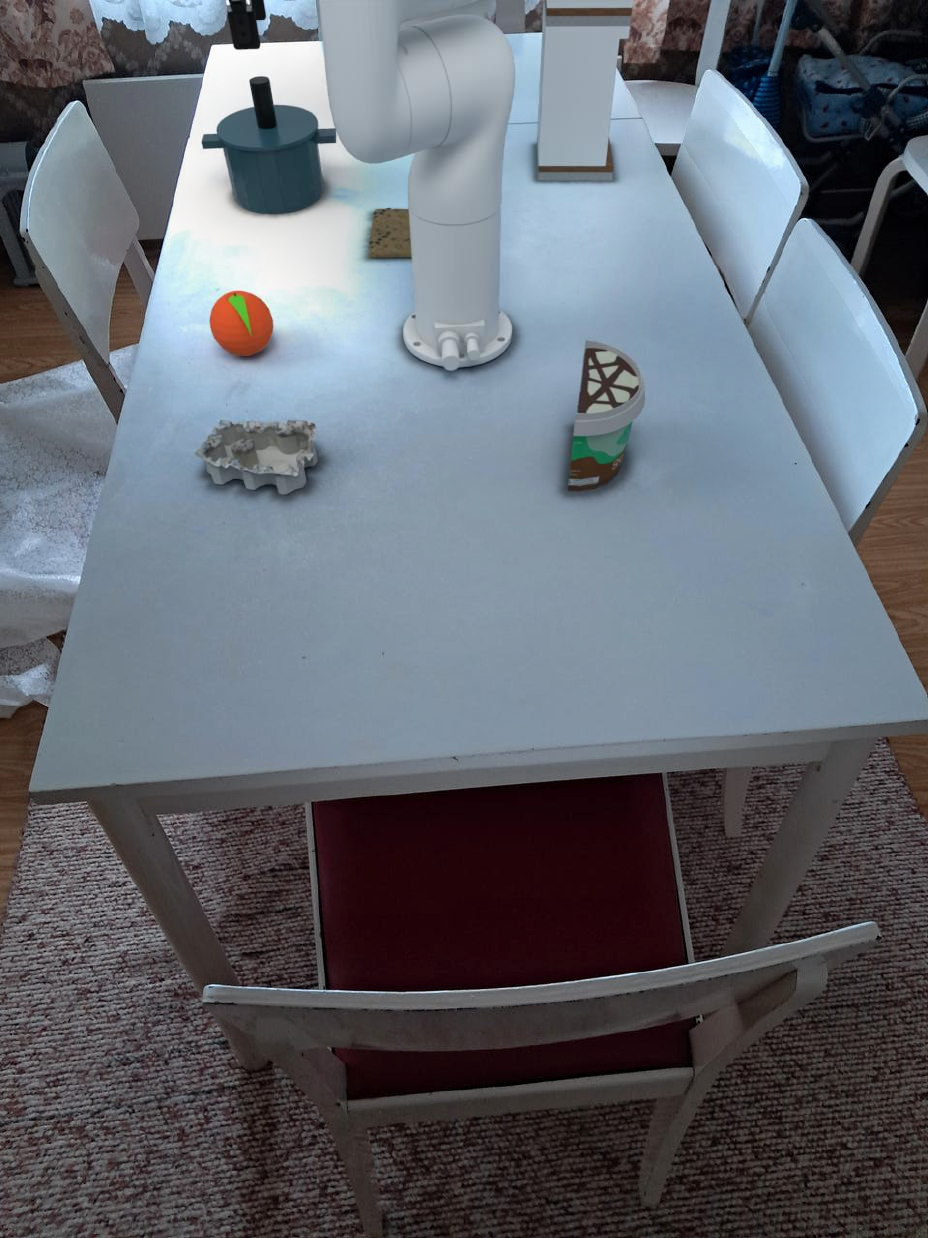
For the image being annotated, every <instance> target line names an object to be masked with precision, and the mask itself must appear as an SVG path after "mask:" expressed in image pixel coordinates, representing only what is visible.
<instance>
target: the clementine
mask: <svg viewBox="0 0 928 1238" xmlns="http://www.w3.org/2000/svg"><path fill="white" fill-rule="evenodd" d="M208 320H209V328H210V332H211V334H212V337H213V339H214V340H215V341H216V342H217V344H218V345H219V346H220V347H221V348H222V349H223V350H225V351H227V352H228V353H229V354H232V355H235V356H239V357H249V356H253V355H256V354H258V353H259V352H261V351H262V350H263V351H264V349H265V348H266V347H267V345H268V344H269V342H270V341H271V339H272V336H273V332H274V319H273V316H272V313H271V311H270V308H269V307H268V306H267V304H266V303H265V301H263V300H262V299H261V298H260V297H259V296H257V295H256V294H254V293H251V292H248V291H245V290H231V291H229V292H226V293H224V294H223V295H221V296H220V297H219V298H218V299H217V300H216V301H215V303H214V304H213V306H212V307H211V311H210V314H209V319H208Z"/></svg>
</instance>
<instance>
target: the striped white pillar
mask: <svg viewBox="0 0 928 1238" xmlns="http://www.w3.org/2000/svg"><path fill="white" fill-rule="evenodd" d="M633 5H634V0H543V6H542V7H543V8H542V26H541V27H542V28H541V45H540V46H541V47H540V65H539V67H540V68H539V86H538V90H539V91H538V108H537V127H536V129H537V130H536V166H537V167H536V169H537V181H538V182H547V181H548V182H550V181H551V182H552V181H553V182H556V181H558V182H560V181H562V182H564V181H565V182H574V181H575V182H613V178H614V177H613V176H614V169H615V168H614V167H615V165H614V158H613V153H612V146H611V142H610V129H611V121H612V111H613V103H614V94H615V85H616V77H617V76H616V74H617V66H618V65H617V64H618V56H619V46H620V40H629V39H630V32H631V22H632V14H633Z"/></svg>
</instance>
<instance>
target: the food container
mask: <svg viewBox="0 0 928 1238" xmlns="http://www.w3.org/2000/svg"><path fill="white" fill-rule="evenodd" d="M582 360H583V361H582V369H581V377H580V385H579V392H578V393H579V394H578V401H577V402H578V404H577V412H575V417H574V423H573V424H574V425H573V434H572V446H571V454H570V464H569V473H568V484H567V491H569V492H570V491H572V492H582V491H589V490H595V489H597V488H599V487H602V486H604V485H607V484H608V483H610V482H611V481H612V480H613V479H615V478H616V477H617V476H618V474H619V472H620V470H621V467H622V464H623V460H624V456H625V452H626V449H627V445H628V442H629V437H630V434H631V429H632V425H633V421H635V420H636V419H637V418H638V417H639V415H640V414H641V413H642V411H643V409H644V407H645V403H646V391H645V390H646V389H645V380H644V375H643V374H642V371H641V369H640V366H639V365H638V363H637V362H636V360H635V359H633V358H632V357H631V355H629V354H628V353H626V352H625V351H623V350H621V349H620V348H618V347H616V346H613V345H611V344H608V343H605V342H601V341H598V340H597V341H596V340H591V339H590V340H589V339H585V341H584V349H583V359H582Z"/></svg>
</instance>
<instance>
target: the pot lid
mask: <svg viewBox="0 0 928 1238" xmlns="http://www.w3.org/2000/svg"><path fill="white" fill-rule="evenodd" d="M248 81H249V87H250V93H251V99H252V103H253V106H251V107H246V108H243V109H239V110H237V111H234V112H232V113H230V114H229V115H226V116H224V117H223V118H222V119H221V120H220V121H219V122H218V124H217V126H216V134H217V136H218V138H219V140H220V141H221V142H223V143H224V144H226V145H228V146H230V147H232V148H236V149H240V150H246V151H272V150H279V149H285V148H289V147H292V146H295V145H298V144H300V143H303V142H305V141H307V140H308V139H310V138H311V137H312V136H313V135H314V134H315V133H316V132H317V130H318V129H319V120H318V117H317V116H316V115H315V114H314V113H313V112H311V111H310V110H307V109H305V108H302V107H299V106H295V105H287V104H274V100H273V99H274V98H273V91H272V86H271V81H270V78H269V77H267V76H263V75H260V76H253V77H251V78H250V79H249V80H248Z"/></svg>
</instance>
